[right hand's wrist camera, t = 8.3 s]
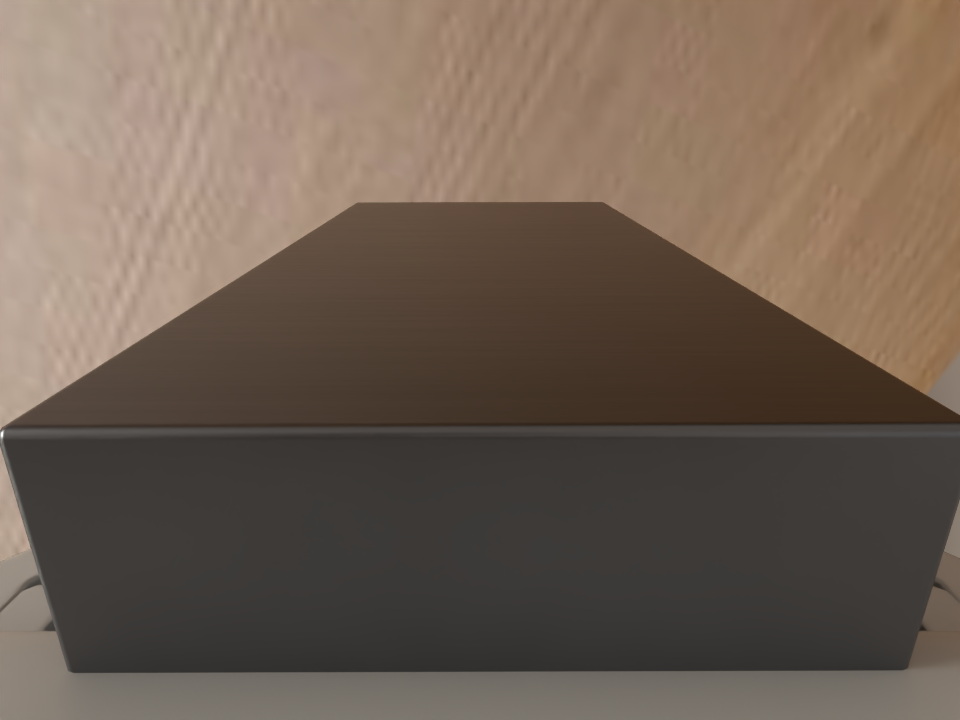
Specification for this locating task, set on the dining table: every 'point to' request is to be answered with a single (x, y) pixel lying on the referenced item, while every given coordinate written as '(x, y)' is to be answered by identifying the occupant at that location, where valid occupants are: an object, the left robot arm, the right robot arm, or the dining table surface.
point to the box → (485, 466)
